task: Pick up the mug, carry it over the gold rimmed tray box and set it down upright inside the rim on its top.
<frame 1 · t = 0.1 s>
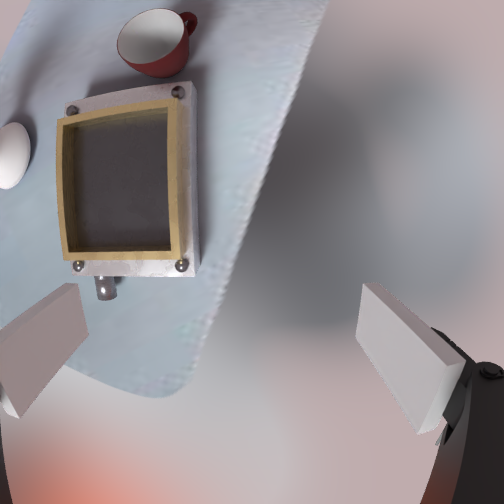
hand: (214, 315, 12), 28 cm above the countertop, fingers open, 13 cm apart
gold rimmed tray box: (134, 181, 38), on the countertop
mug: (174, 57, 34), on the countertop
flower in vase: (17, 156, 36), on the countertop
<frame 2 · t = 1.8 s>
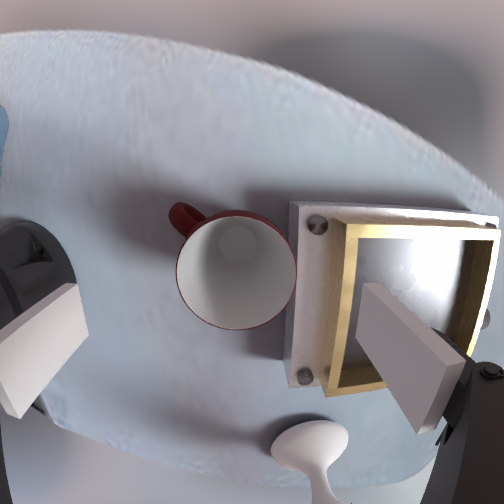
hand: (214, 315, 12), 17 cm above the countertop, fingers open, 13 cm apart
gold rimmed tray box: (390, 285, 31), on the countertop
mug: (226, 236, 29), on the countertop
flower in vase: (310, 434, 36), on the countertop
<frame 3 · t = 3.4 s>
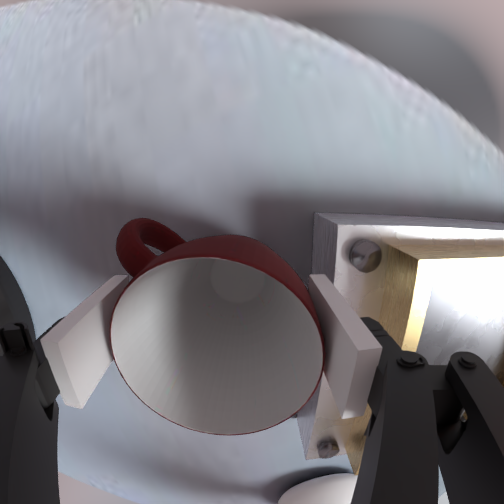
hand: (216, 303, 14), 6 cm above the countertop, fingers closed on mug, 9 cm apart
gold rimmed tray box: (436, 322, 21), on the countertop
mug: (222, 265, 20), on the countertop, touching gripper
flower in vase: (324, 483, 27), on the countertop
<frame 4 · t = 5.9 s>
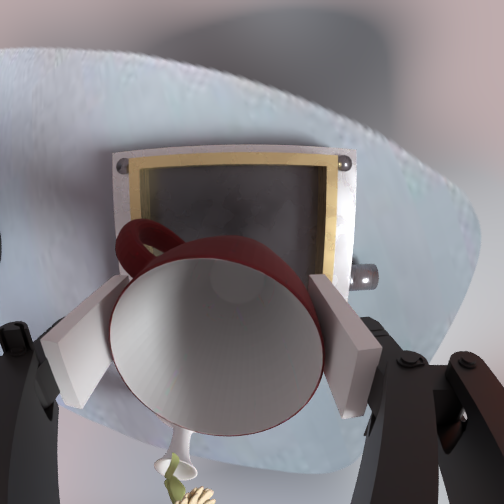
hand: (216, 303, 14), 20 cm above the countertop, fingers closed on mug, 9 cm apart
gold rimmed tray box: (234, 230, 33), on the countertop
mug: (221, 265, 20), point 14 cm above the countertop, touching gripper
flower in vase: (190, 392, 39), on the countertop
when the fingers open (12 cm above the countertop, at t = 8.1 s): mug drops 1 cm, resting on gold rimmed tray box.
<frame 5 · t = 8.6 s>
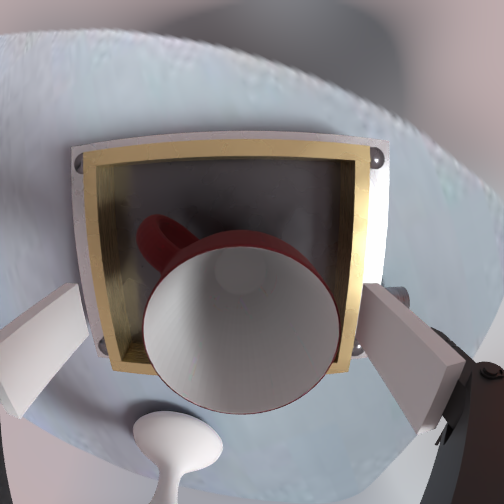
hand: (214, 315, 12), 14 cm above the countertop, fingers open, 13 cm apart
gold rimmed tray box: (228, 245, 26), on the countertop
mug: (225, 259, 21), point 5 cm above the countertop, touching gold rimmed tray box
flower in vase: (180, 428, 31), on the countertop
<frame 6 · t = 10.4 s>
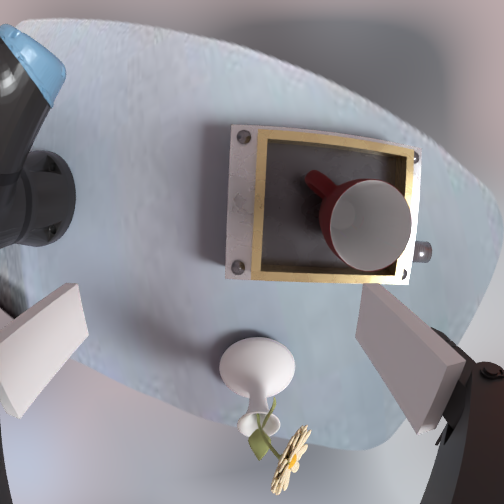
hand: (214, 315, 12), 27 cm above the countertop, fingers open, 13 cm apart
gold rimmed tray box: (322, 205, 38), on the countertop
mug: (331, 207, 33), point 5 cm above the countertop, touching gold rimmed tray box
flower in vase: (259, 358, 43), on the countertop
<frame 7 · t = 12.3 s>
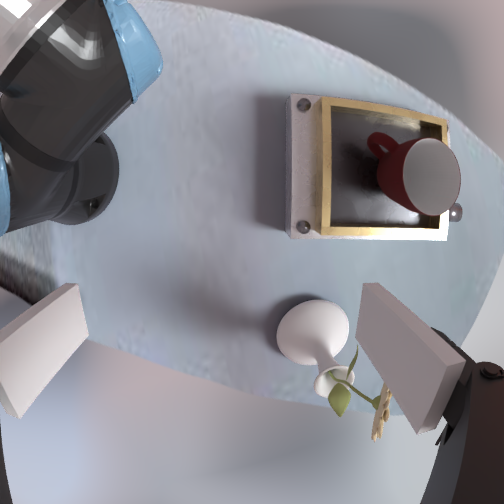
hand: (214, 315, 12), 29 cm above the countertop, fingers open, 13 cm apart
gold rimmed tray box: (367, 170, 39), on the countertop
mug: (382, 169, 34), point 5 cm above the countertop, touching gold rimmed tray box
flower in vase: (313, 323, 45), on the countertop
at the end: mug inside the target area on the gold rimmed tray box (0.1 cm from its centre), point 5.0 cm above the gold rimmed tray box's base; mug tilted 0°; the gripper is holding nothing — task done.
